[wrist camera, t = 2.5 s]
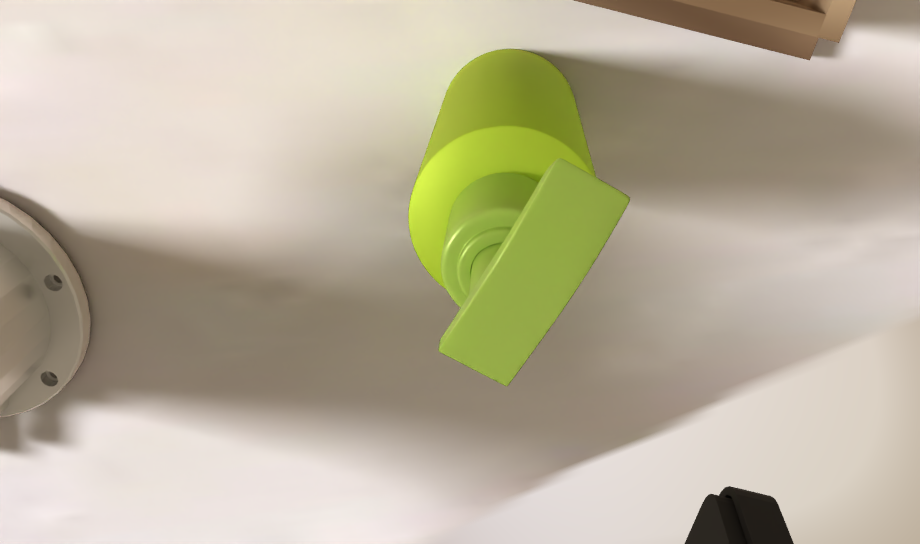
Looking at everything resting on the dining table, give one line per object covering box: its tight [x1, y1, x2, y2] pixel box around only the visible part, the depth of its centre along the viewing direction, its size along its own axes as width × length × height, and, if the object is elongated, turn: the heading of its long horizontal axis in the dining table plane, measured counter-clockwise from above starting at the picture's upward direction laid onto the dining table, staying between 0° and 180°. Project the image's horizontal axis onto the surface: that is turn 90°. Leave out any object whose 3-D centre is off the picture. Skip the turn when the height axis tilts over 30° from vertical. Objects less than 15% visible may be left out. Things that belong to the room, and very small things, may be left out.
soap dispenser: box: [408, 49, 630, 386], centre depth 29 cm, size 6×7×20 cm
